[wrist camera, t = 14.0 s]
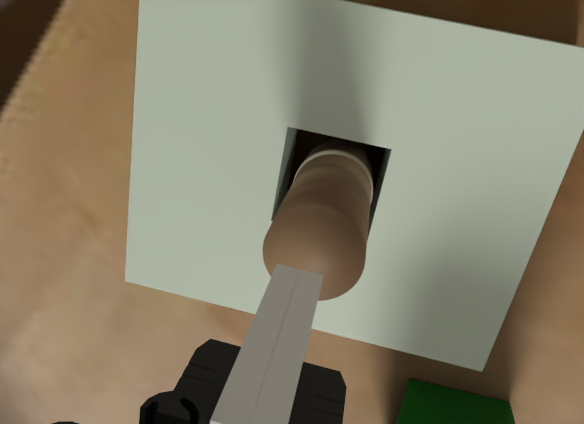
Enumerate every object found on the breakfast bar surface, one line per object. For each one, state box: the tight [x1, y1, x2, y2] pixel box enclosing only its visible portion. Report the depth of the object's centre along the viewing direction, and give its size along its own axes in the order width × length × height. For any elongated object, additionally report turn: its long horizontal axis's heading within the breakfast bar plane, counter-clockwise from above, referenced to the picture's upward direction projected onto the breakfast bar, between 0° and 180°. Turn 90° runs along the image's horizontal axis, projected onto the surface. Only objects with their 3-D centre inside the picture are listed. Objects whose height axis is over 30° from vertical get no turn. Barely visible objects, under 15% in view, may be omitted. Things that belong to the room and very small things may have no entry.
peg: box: [263, 136, 373, 301], centre depth 26 cm, size 4×4×13 cm
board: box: [125, 0, 584, 372], centre depth 29 cm, size 22×18×5 cm
